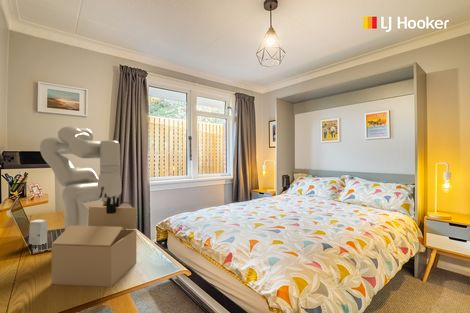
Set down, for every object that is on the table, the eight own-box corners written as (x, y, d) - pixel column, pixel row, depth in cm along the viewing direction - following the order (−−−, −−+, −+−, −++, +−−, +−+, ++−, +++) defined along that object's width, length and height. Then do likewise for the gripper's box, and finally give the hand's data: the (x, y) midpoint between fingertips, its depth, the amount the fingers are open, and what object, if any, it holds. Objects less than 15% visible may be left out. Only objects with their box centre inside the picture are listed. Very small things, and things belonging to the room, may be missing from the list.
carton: (51, 284, 82) (51, 244, 82) (86, 260, 100) (86, 228, 100) (111, 286, 81) (111, 246, 81) (136, 262, 99) (136, 229, 99)
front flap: (52, 244, 82) (52, 243, 82) (70, 226, 90) (70, 225, 90) (110, 246, 81) (109, 245, 81) (122, 227, 89) (122, 226, 89)
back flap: (88, 206, 100) (89, 206, 101) (88, 227, 100) (89, 227, 101) (135, 208, 99) (136, 207, 100) (135, 229, 99) (136, 228, 99)
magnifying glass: (116, 241, 121) (116, 203, 121) (115, 240, 123) (115, 203, 122) (133, 237, 128) (133, 201, 127) (132, 236, 129) (132, 201, 128)
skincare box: (28, 246, 115) (28, 221, 115) (36, 242, 119) (36, 219, 119) (40, 246, 115) (40, 222, 114) (48, 243, 119) (47, 219, 119)
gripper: (112, 169, 106) (113, 209, 106) (89, 171, 91) (90, 217, 91) (128, 168, 105) (129, 209, 105) (107, 170, 90) (108, 217, 90)
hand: (111, 213), depth 98 cm, fingers closed
